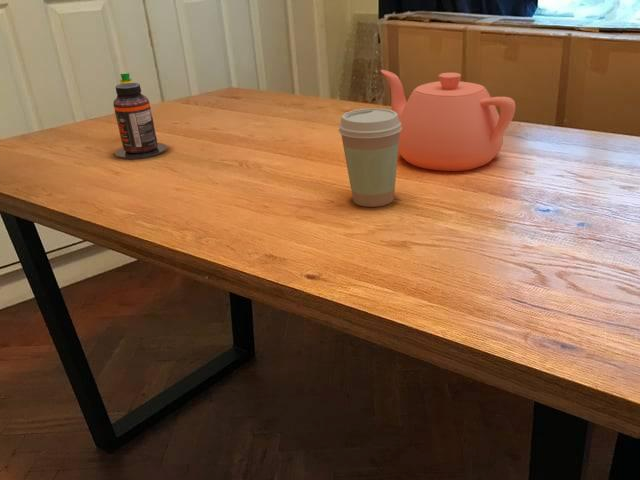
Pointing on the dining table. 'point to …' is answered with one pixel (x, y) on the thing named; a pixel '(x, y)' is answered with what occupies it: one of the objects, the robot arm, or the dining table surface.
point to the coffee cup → (371, 154)
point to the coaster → (125, 155)
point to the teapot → (449, 123)
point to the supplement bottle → (134, 119)
